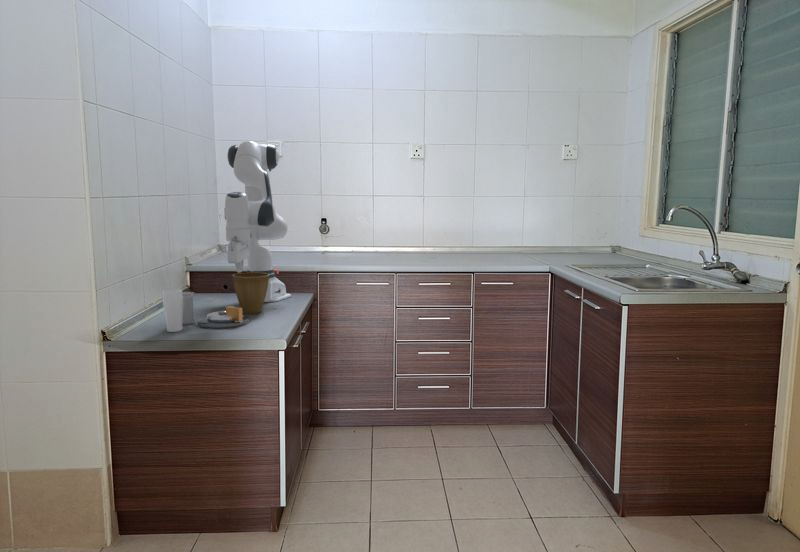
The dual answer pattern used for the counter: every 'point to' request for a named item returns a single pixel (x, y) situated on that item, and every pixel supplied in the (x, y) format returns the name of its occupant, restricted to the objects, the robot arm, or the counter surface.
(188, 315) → the beverage can
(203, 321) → the dial plate
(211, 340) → the counter surface
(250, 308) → the plant pot
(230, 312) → the dial
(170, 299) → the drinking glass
